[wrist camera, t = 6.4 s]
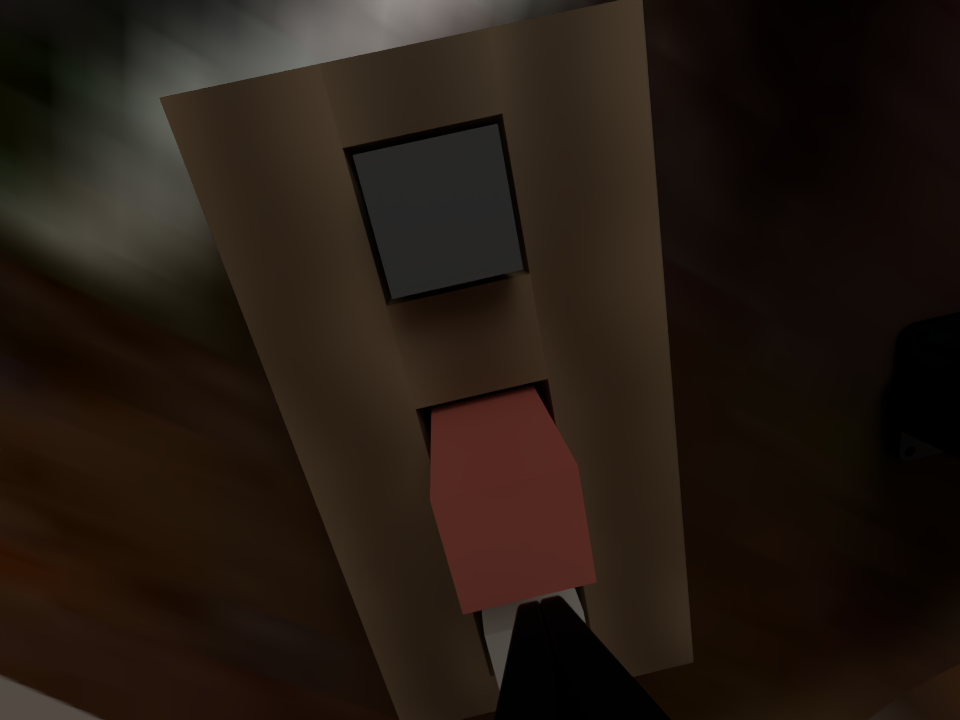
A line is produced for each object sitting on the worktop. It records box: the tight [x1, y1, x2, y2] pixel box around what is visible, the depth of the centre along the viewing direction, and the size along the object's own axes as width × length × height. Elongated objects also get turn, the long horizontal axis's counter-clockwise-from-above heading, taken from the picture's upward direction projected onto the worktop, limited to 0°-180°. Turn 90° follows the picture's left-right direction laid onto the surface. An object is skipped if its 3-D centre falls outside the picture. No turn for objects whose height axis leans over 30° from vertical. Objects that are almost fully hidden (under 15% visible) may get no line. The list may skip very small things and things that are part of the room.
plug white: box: [482, 588, 585, 690], centre depth 18 cm, size 3×3×5 cm
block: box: [160, 0, 693, 720], centre depth 17 cm, size 12×23×4 cm, turn 12°
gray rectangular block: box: [353, 124, 523, 299], centre depth 13 cm, size 3×3×5 cm
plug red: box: [430, 385, 597, 614], centre depth 13 cm, size 3×3×5 cm
